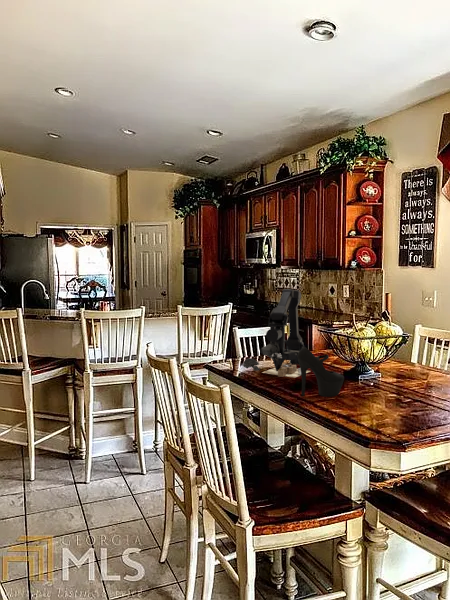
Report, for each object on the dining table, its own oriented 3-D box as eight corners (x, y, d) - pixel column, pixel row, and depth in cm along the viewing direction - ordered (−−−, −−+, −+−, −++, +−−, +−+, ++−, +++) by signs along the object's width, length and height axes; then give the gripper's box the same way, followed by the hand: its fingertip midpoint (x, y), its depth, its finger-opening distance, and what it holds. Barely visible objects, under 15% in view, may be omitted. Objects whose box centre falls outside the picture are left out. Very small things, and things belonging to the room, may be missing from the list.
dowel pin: (298, 374, 235) (299, 367, 234) (302, 374, 234) (302, 368, 233) (297, 375, 233) (297, 368, 233) (300, 375, 232) (300, 368, 232)
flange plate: (282, 369, 244) (282, 363, 244) (296, 371, 241) (296, 364, 241) (273, 375, 232) (273, 368, 232) (287, 377, 229) (287, 370, 229)
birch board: (278, 368, 252) (278, 366, 252) (311, 373, 241) (311, 371, 241) (261, 374, 239) (261, 372, 239) (295, 380, 228) (295, 377, 228)
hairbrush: (249, 369, 240) (241, 356, 264) (249, 377, 240) (241, 363, 265) (267, 369, 241) (257, 356, 265) (266, 376, 241) (257, 363, 266)
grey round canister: (285, 373, 242) (285, 364, 242) (290, 374, 240) (290, 365, 240) (282, 374, 240) (282, 365, 239) (287, 375, 238) (287, 366, 238)
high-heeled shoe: (346, 397, 200) (346, 347, 199) (299, 398, 199) (299, 348, 197) (340, 391, 208) (340, 344, 207) (294, 392, 207) (295, 344, 205)
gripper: (252, 336, 235) (251, 369, 236) (280, 343, 220) (279, 378, 222) (269, 334, 241) (268, 366, 243) (297, 340, 227) (296, 374, 228)
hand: (277, 371), depth 234 cm, fingers closed
